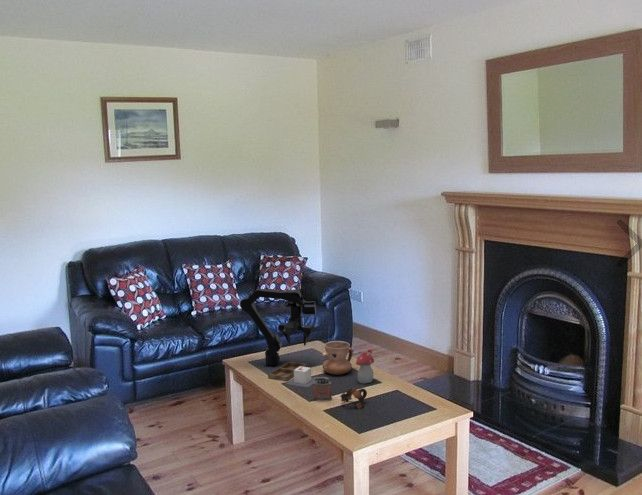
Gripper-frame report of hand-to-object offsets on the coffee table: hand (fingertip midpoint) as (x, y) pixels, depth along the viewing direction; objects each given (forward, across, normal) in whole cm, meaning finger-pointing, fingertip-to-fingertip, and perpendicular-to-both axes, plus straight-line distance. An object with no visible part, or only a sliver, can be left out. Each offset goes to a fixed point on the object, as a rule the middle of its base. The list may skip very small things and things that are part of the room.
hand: (296, 344), depth 308 cm
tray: (+11, +2, -13) cm, 17 cm away
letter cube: (+11, +14, -20) cm, 27 cm away
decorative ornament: (+11, +41, -8) cm, 43 cm away
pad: (+11, +14, -20) cm, 27 cm away
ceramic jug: (+11, +24, -1) cm, 26 cm away
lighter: (+11, +32, -35) cm, 49 cm away
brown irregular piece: (+11, +47, -35) cm, 60 cm away
